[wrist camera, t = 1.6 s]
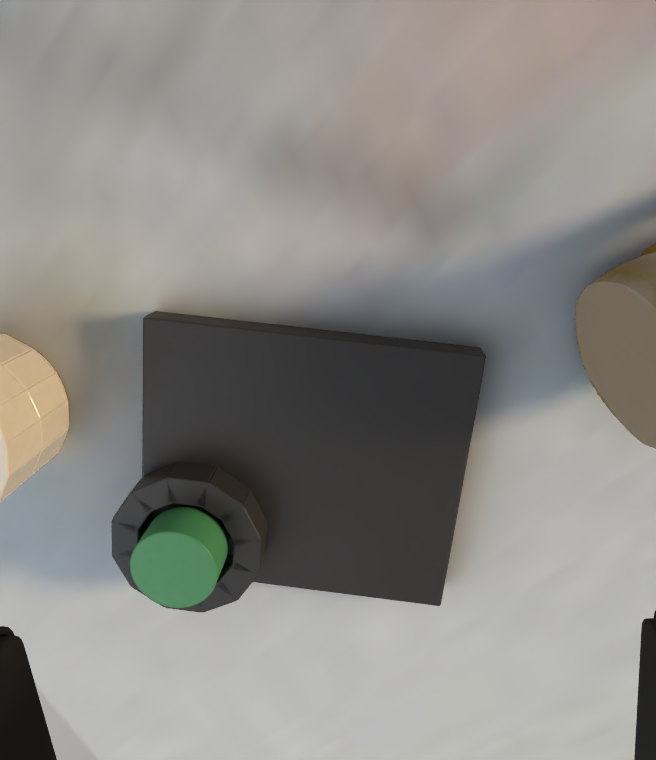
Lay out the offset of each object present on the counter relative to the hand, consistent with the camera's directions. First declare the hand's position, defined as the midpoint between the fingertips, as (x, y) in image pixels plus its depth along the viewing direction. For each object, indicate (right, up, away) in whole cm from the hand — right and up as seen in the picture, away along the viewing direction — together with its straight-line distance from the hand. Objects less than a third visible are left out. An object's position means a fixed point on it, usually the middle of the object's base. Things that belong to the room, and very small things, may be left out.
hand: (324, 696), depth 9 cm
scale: (-1, +1, +19) cm, 19 cm away
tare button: (-6, -2, +18) cm, 19 cm away
